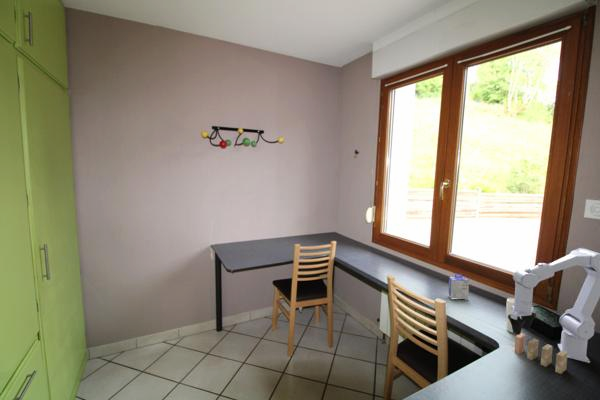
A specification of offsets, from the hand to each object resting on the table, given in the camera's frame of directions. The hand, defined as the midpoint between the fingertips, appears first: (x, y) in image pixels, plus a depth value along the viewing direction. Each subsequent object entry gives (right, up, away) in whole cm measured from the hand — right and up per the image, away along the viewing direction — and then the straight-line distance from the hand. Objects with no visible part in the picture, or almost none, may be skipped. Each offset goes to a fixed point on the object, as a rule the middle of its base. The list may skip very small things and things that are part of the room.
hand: (521, 331), depth 119 cm
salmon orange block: (0, -9, +1) cm, 9 cm away
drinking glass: (+9, -8, +16) cm, 20 cm away
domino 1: (+2, -9, -3) cm, 10 cm away
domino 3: (+7, -10, -11) cm, 16 cm away
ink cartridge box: (+2, -4, +51) cm, 51 cm away
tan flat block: (+4, -10, -7) cm, 13 cm away
